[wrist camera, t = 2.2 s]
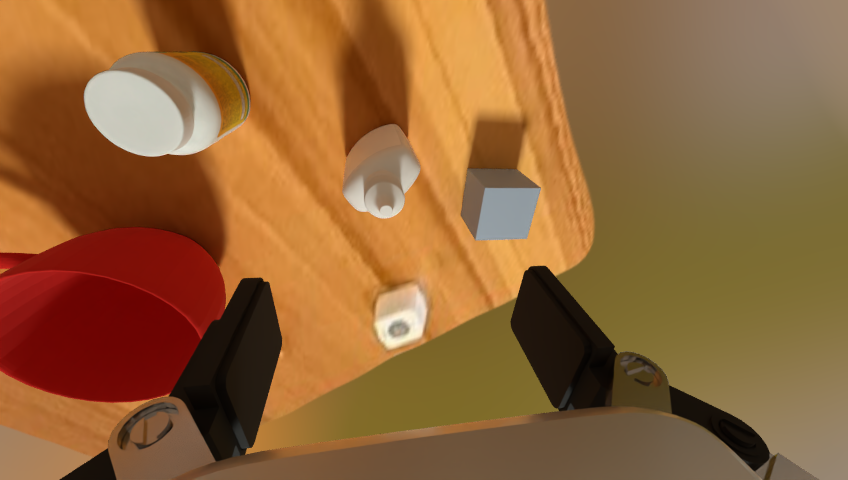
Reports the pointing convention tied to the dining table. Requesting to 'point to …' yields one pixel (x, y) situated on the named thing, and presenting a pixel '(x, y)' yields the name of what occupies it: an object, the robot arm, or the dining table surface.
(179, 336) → the ceramic cup
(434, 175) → the dining table surface
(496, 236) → the slate block
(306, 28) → the dining table surface
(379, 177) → the eye dropper bottle
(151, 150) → the supplement bottle
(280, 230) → the dining table surface
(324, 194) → the dining table surface
